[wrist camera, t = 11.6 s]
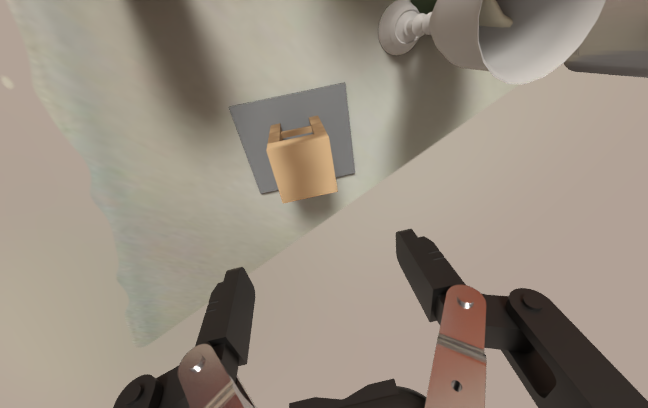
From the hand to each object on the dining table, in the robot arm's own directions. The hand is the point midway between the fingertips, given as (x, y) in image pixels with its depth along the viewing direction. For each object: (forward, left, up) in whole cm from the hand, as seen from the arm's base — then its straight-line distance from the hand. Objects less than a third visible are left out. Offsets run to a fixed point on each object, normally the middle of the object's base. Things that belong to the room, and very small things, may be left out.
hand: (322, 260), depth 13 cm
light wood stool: (0, +1, -22) cm, 22 cm away
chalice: (-13, -9, -23) cm, 28 cm away
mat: (0, +1, -23) cm, 23 cm away
